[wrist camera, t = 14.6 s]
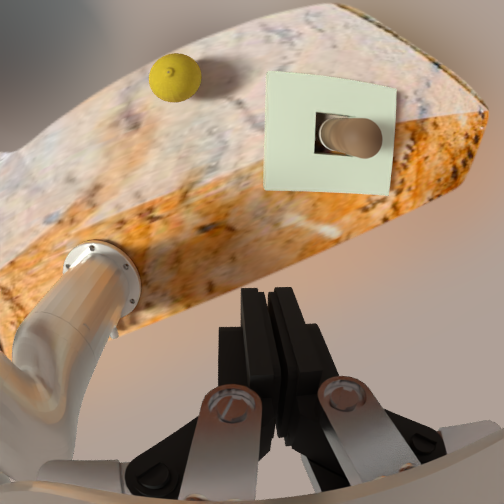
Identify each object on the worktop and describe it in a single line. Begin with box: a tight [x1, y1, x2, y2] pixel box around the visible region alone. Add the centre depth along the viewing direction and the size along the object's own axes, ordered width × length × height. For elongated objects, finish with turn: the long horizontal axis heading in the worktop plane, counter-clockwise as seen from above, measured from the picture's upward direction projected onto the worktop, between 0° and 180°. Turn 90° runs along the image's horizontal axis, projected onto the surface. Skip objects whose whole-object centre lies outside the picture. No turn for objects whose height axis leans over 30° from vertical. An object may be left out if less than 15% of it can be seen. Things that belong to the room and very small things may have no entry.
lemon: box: [149, 53, 202, 102], centre depth 28 cm, size 6×6×8 cm
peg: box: [316, 118, 383, 159], centre depth 30 cm, size 4×4×11 cm
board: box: [263, 71, 396, 196], centre depth 34 cm, size 14×16×2 cm
